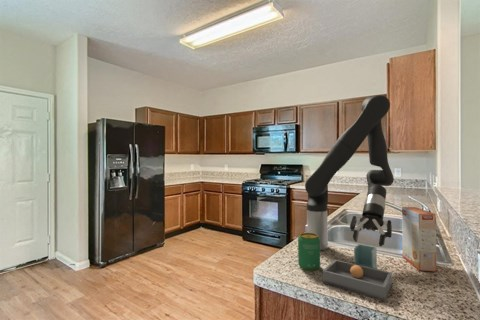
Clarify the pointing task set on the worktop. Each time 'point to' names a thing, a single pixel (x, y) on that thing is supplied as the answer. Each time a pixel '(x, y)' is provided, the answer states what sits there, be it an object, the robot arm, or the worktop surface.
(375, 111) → the robot arm
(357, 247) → the teal open-sided box
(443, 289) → the worktop surface
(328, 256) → the worktop surface
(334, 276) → the tray
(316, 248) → the beverage can
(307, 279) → the worktop surface
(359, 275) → the ball
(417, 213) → the cracker box
